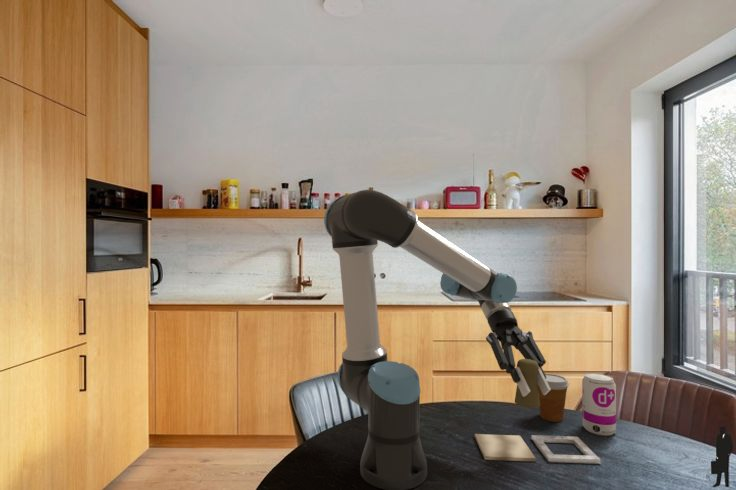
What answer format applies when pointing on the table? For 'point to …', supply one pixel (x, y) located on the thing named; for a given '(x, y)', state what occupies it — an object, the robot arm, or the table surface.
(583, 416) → the supplement can
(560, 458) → the shaker dock
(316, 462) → the table surface
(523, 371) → the cork
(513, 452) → the birch board
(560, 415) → the disposable coffee cup
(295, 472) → the table surface
